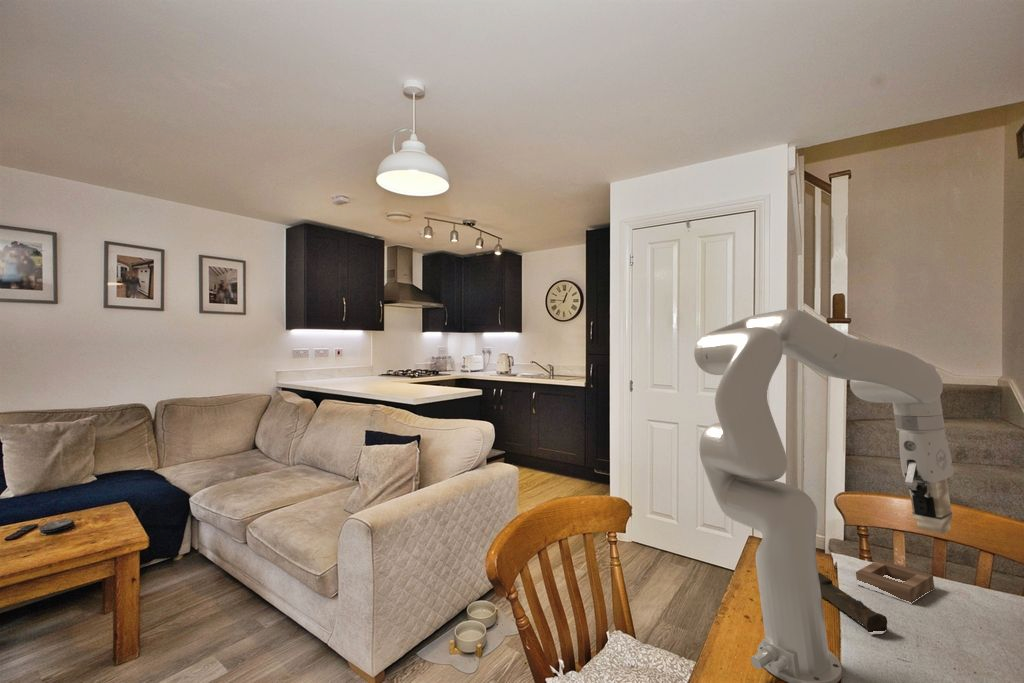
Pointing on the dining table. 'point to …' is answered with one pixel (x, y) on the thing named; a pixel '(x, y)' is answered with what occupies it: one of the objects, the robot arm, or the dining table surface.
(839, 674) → the robot arm
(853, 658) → the dining table surface
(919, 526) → the peg
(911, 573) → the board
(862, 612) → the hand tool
